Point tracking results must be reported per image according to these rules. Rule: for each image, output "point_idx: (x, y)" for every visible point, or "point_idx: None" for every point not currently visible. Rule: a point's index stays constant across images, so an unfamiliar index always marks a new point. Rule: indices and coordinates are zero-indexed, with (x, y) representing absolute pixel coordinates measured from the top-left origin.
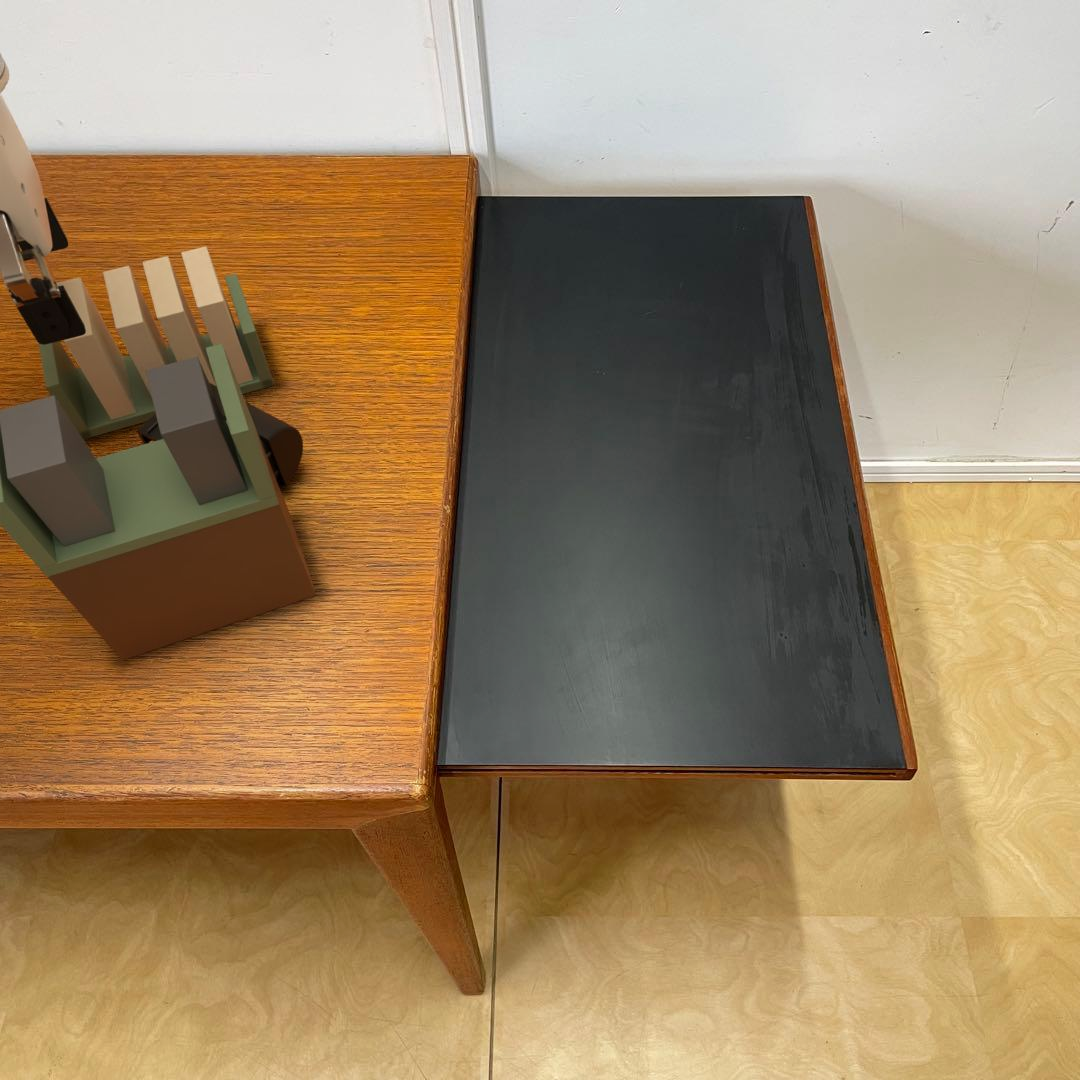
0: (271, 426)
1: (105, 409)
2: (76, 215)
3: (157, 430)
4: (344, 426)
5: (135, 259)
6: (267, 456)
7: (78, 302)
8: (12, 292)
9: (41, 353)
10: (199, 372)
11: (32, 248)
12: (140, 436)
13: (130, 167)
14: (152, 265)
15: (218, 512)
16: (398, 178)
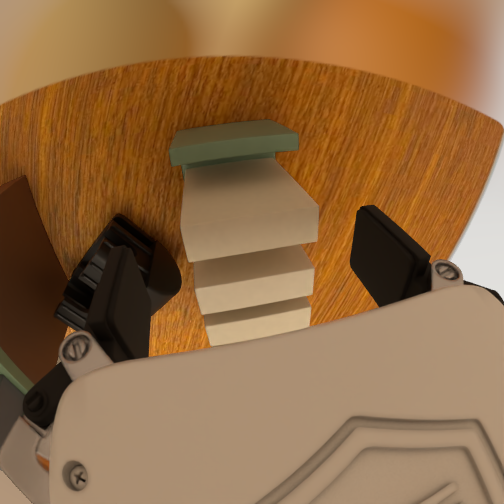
0: None
1: (185, 174)
2: (454, 155)
3: (95, 271)
4: (159, 331)
5: (397, 193)
6: None
7: (262, 242)
8: (9, 431)
9: (238, 140)
10: (1, 470)
11: (362, 228)
12: (100, 245)
13: (470, 200)
14: (299, 317)
15: None
16: None
